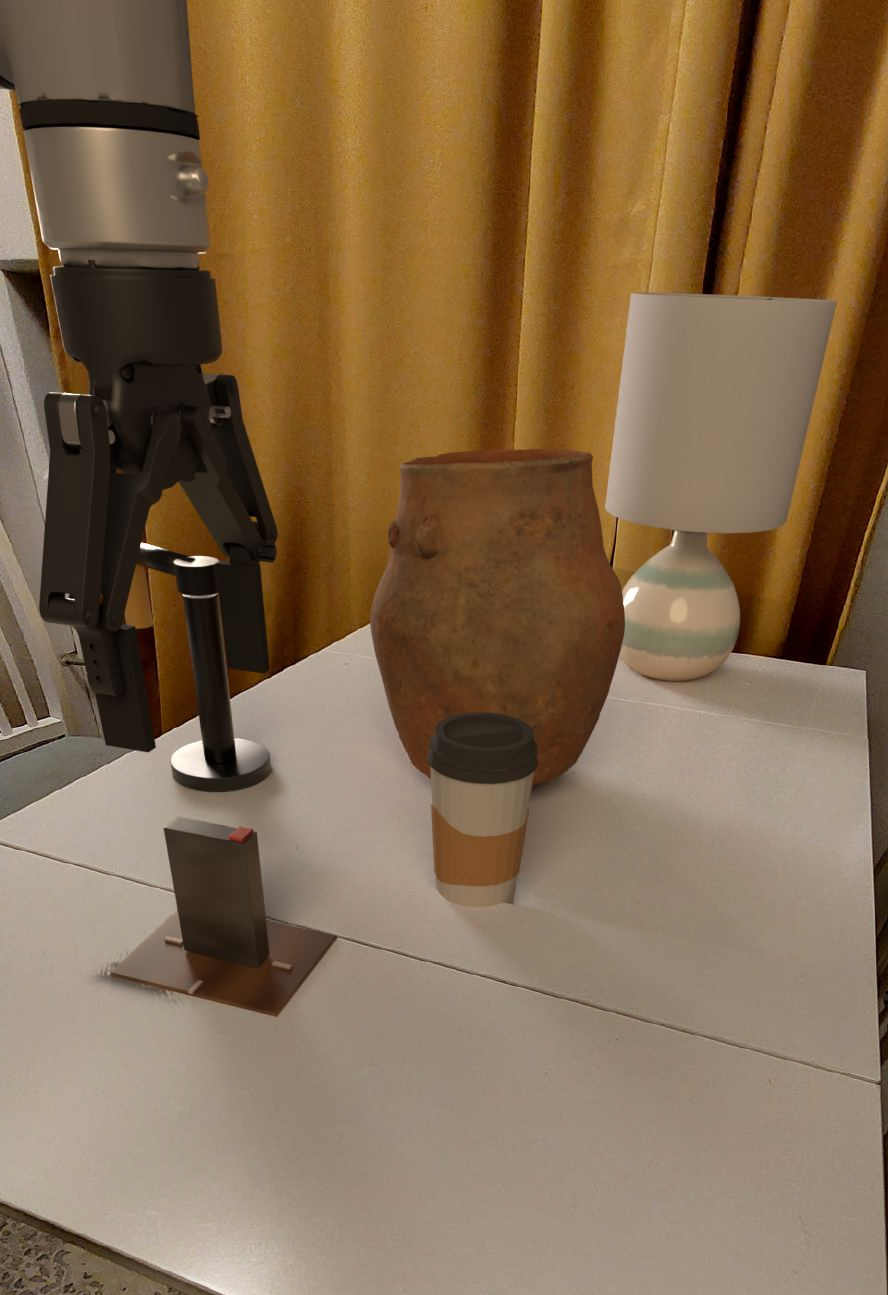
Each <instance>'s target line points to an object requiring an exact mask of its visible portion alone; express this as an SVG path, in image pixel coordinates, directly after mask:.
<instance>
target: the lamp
mask: <svg viewBox="0 0 888 1295" xmlns="http://www.w3.org/2000/svg"><path fill="white" fill-rule="evenodd" d="M837 304H838V301H837V300H831V299H816V298H815V299H814V298H800V297H799V298H797V297H776V296H755V295H731V294H709V293H708V294H705V293H680V292H679V293H678V292H631V293H630V299H629V306H628V307H629V309H628V317H627V323H626V324H627V325H626V330H625V331H626V332H625V342H624V348H623V356H622V357H623V358H622V365H621V372H620V373H621V374H620V382H619V390H618V397H617V398H618V399H617V406H616V414H615V415H616V416H615V422H614V431H613V440H612V446H611V454H610V455H611V456H610V463H609V471H608V480H607V489H606V498H605V504H604V509H605V511H606V512H607V513H608V514H610V515H611V516H612V517H613V516H614V517H615V518H618V519H619V520H623V521H627V522H629V523H634V524H636V525H637V524H638V525H642V526H648V527H651V528H659V529H664V530H672V531H673V535H672V537H671V541H670V543H669V545H667V546H665V547H664V548H662V549H661V550H659V551H657V552H656V553H655V554H654V555H652V556H651V557H650V558H649V559H647V560H646V561H645V562H644V563H643V564H642V565H641V566H640V567H638V569H637V570H636V571H635V572H634V573H632V575H631V576H630V578H629V579H628V581H627V582H626V583H625V585H624V587H623V588H622V595H623V603H624V611H625V632H624V638H623V643H622V647H621V651H620V655H619V659H620V660H621V661H622V662H623V663H624V664H625V665H626V666H627V667H628V668H630V669H631V670H632V671H634V672H636V673H638V674H640V675H642V676H645V677H647V678H650V679H655V680H659V681H666V682H682V681H683V682H684V681H685V682H686V681H689V680H695V679H699V678H703V677H704V676H706V675H708V674H710V673H713V672H714V671H716V670H717V669H718V668H720V667H721V666H722V665H723V664H724V663H725V662H726V660H727V659H729V656H730V655H731V653H732V652H733V650H734V649H735V646H736V644H737V642H738V641H737V640H738V637H739V633H740V628H741V608H740V602H739V598H738V594H737V590H736V587H735V585H734V582H733V580H732V579H731V577H730V575H729V573H728V571H727V570H726V569H725V567H724V566H723V564H722V563H721V562H720V560H719V559H718V557H717V556H716V555H714V553H713V552H712V551H711V550H710V549H709V548H708V546H707V544H708V534H747V533H748V534H749V533H759V532H766V531H772V530H775V529H779V528H781V527H783V526H784V525H785V524H786V523H787V521H788V516H789V513H790V512H789V511H790V508H791V503H792V498H793V495H794V490H795V486H796V481H797V477H798V473H799V468H800V464H801V460H802V455H803V451H804V446H805V444H806V438H807V434H808V429H809V425H810V421H811V417H812V413H813V412H812V411H813V407H814V404H815V399H816V394H817V390H818V386H819V382H820V377H821V373H822V368H823V364H824V360H825V356H826V351H827V347H828V343H829V338H830V334H831V329H832V326H833V321H834V317H835V312H836V308H837Z"/></svg>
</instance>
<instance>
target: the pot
mask: <svg viewBox="0 0 888 1295" xmlns="http://www.w3.org/2000/svg"><path fill="white" fill-rule="evenodd" d="M593 458H594V455H593V454H591V452H588V451H584V452H583V451H580V450H577V449H575V450H574V449H573V450H571V449H565V448H561V449H560V448H559V449H557V448H556V449H550V448H527V449H488V450H487V449H486V450H470V451H469V450H467V451H466V450H465V451H453V452H446V453H440V454H438V455H436V456H423V457H416V458H414V459H412V460H409V461H405V462H402V463H400V465H399V476H400V479H399V480H400V483H399V500H398V505H397V509H396V515H395V520H394V521H390V523H389V525H388V528H387V541H388V543H389V545H390V551H389V552H390V553H389V557H388V562H387V565H386V567H385V569H384V571H383V574H382V576H381V578H380V581H379V582H378V583H379V584H378V586H377V588H376V590H375V593H374V597H373V601H372V604H371V608H370V612H369V627H370V633H371V639H372V644H373V645H372V646H373V650H374V655H375V658H376V662H377V666H378V669H379V672H380V676H381V680H382V684H383V688H384V693H385V696H386V701H387V704H388V707H389V708H388V709H389V711H390V715H391V716H392V720H393V723H394V726H395V729H396V731H397V733H398V738H399V741H401V743H402V746H403V748H404V750H405V752H406V753H407V756H408V758H409V760H410V762H411V764H412V766H414V768H416V770H418V771H419V772H421V773H422V774H424V775H425V776H426V777H428V779H430V780H431V769H430V764H429V763H428V761H427V760H428V753H429V744H430V740H431V738H432V737H433V736H434V735H435V728H436V726H437V724H438V723H439V722H440V721H442V720H443V719H445V718H447V717H450V716H453V715H458V714H463V713H474V712H484V713H496V714H503V715H507V716H511V717H514V718H516V719H519V720H522V721H523V722H525V723H526V724H528V725H529V726H530V727H531V728H532V730H533V735H534V741H535V742H536V743H537V748H538V753H537V760H538V766H537V768H536V770H535V771H534V777H533V783H532V786H535V785H538V784H542V783H546V782H551V781H552V780H554V779H557V778H558V777H560V776H561V775H563V774H564V773H566V772H568V770H570V769H571V768H572V767H573V766H574V765H575V764H576V763H577V761H578V760H579V759H580V756H581V755H582V753H583V751H584V749H585V748H586V745H587V744H588V742H589V740H590V738H591V736H592V734H593V732H594V730H595V728H596V725H597V724H598V722H599V720H600V717H601V716H600V715H601V712H602V710H603V708H604V705H605V703H606V701H607V698H608V697H609V696H608V695H609V692H610V689H611V686H612V682H613V679H614V676H615V673H616V668H617V666H618V662H619V659H620V657H619V655H620V651H621V647H622V643H623V638H624V632H625V611H624V603H623V595H622V590H623V588H622V585H621V581H620V579H619V577H618V575H617V573H616V572H615V570H614V568H613V567H612V565H611V563H610V562H609V559H608V557H607V553H606V550H605V547H604V538H603V529H602V523H601V517H600V516H601V515H600V511H599V510H600V509H599V507H598V502H597V498H596V494H595V490H594V487H593V486H594V485H593Z"/></svg>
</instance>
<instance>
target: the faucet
mask: <svg viewBox="0 0 888 1295" xmlns="http://www.w3.org/2000/svg"><path fill="white" fill-rule="evenodd" d="M182 602H183V607H184V616H185V617H184V618H185V624H186V630H187V637H188V646H189V653H190V660H191V667H192V668H191V669H192V675H193V681H194V684H193V685H194V690H195V698H196V705H197V712H198V720H199V727H200V734H201V740H197V741H194V742H191V743H188V744H185V745H184V746H182V747H180V748H177V750H176V751H174V752H173V754H171V757H170V760H169V761H170V767H171V768H170V769H171V774H172V778H173V779H174V780H175V782H176V783H178V784H179V785H181V786H183V787H185V788H187V789H191V790H194V791H199V792H208V793H219V792H220V793H222V792H223V793H224V792H233V791H239V790H243V789H246V788H250V787H253V786H255V785H258V784H259V783H261V782H263V781H264V780H266V779H267V777H268V776H269V775H270V774H271V771H272V764H271V763H272V762H271V755H270V751H269V750H268V748H266V747H265V746H264V745H262V744H260V743H258V742H256V741H254V740H253V741H252V740H249V739H243V738H238V737H237V738H235V731H234V722H233V712H232V706H231V705H232V704H231V697H230V686H229V679H228V670H227V669H228V668H227V659H226V650H225V641H224V633H223V624H222V616H221V607H220V599H219V593H217V594H213V595H208V596H188V595H183V594H182Z"/></svg>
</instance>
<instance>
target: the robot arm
mask: <svg viewBox="0 0 888 1295" xmlns="http://www.w3.org/2000/svg"><path fill="white" fill-rule="evenodd" d="M187 2H188V0H0V92H9V91H13V92H15V94H16V99H17V104H18V105H17V107H19V109H18V110H19V116H20V121H21V126H22V129H23V140H24V144H25V150H26V155H27V161H28V167H29V173H30V179H31V185H32V190H33V195H34V201H35V208H36V213H37V214H36V215H37V218H38V224H39V229H40V236H41V241H42V243H44V245H46V246H47V247H48V249H50V250H57V251H58V256H59V260H60V261H59V262H60V265H61V266H53V268H52V269H53V274H50V275H49V277H50V282H51V288H52V293H53V298H54V303H55V309H56V315H57V320H58V325H59V331H60V336H61V342H62V347H63V350H64V352H65V354H66V355H67V356H68V357H69V358H70V359H71V360H73V361H75V362H78V363H82V365H83V366H84V368H85V369H86V371H87V377H88V394H79V393H67V392H51V391H50V392H47V394H46V395H45V397H44V400H43V408H44V416H45V423H46V432H47V437H48V438H47V439H48V444H49V462H48V473H47V474H48V475H47V488H46V502H45V503H46V504H45V505H46V506H45V516H44V517H45V518H44V531H43V532H44V533H43V545H42V546H43V547H42V561H41V562H42V563H41V576H40V587H39V590H40V591H39V602H38V608H39V609H38V610H39V615H40V617H41V619H42V620H43V621H44V622H46V623H47V624H48V623H49V624H56V625H62V626H69V627H72V628H73V629H74V630H75V631H76V633H77V636H78V639H79V640H78V641H79V644H80V649H81V654H82V658H83V663H84V668H85V672H86V678H87V683H88V685H89V687H90V689H91V691H92V693H94V696H95V701H96V705H97V710H98V716H99V720H100V725H101V730H102V733H103V739H104V743H105V746H108V747H113V748H119V749H126V750H132V751H136V752H143V753H150V752H152V751H153V750H154V749H156V748H157V745H156V739H155V734H154V728H153V721H152V715H151V710H150V705H149V699H148V698H149V697H148V693H147V688H146V681H145V676H144V671H143V670H144V669H143V664H142V659H141V652H140V647H139V646H140V645H139V640H138V635H137V630H136V629H135V626H132V625H126V623H125V624H123V620H124V617H125V614H124V613H125V609H126V605H127V600H128V596H129V592H130V588H131V584H132V580H133V576H134V571H135V567H136V563H137V559H138V555H139V551H140V546H141V543H143V539H144V538H143V537H144V534H145V529H146V526H147V521H148V517H149V512H150V509H151V507H152V506H153V505H155V504H157V503H158V502H160V501H161V498H162V495H163V491H164V490H168V489H170V488H173V487H174V486H175V485H176V484H179V485H180V486H181V489H182V490H183V492H184V493H185V495H186V497H187V498H188V500H189V501H190V503H191V504H192V507H193V509H194V510H195V511H196V513H197V514H198V516H199V518H200V519H201V521H202V523H203V524H204V526H205V528H206V529H207V531H208V533H209V534H210V536H211V537H212V539H213V541H214V542H215V544H216V546H217V547H218V549H219V550H220V552H221V554H222V555H223V557H224V558H225V559H226V558H227V559H229V560H218V561H219V562H217V563H215V565H216V574H217V582H218V590H219V593H218V598H219V607H220V616H221V624H222V633H223V642H224V650H225V659H226V667H227V669H229V670H236V671H241V672H242V671H243V672H250V673H257V674H263V675H264V674H266V673H268V672H269V671H270V670H271V669H270V657H269V656H270V655H269V648H268V646H269V644H268V634H267V624H266V623H267V622H266V612H265V602H264V601H265V600H264V592H263V580H262V569H261V568H262V567H261V563H262V562H263V563H270V564H271V563H272V564H273V563H275V561H276V559H277V545H276V542H277V540H278V536H279V532H278V527H277V524H276V520H275V517H274V515H273V511H272V508H271V505H270V502H269V501H270V500H269V499H268V495H267V492H266V489H265V486H264V482H263V479H262V476H261V473H260V469H259V466H258V464H257V461H256V457H255V454H254V452H253V448H252V445H251V442H250V438H249V434H248V432H247V429H246V426H245V423H244V419H243V412H242V404H241V397H240V391H239V384H238V380H237V377H235V375H233V374H221V373H205V372H204V373H203V370H202V365H208V364H213V363H215V362H217V361H218V360H219V359H220V358H221V356H222V353H223V341H222V332H221V323H220V312H219V301H218V292H217V283H216V278H212V275H211V271H210V270H208V269H207V270H204V269H203V270H202V269H201V263H200V262H201V261H200V254H207V252H208V251H210V249H211V247H212V245H211V243H212V242H211V236H210V234H211V233H210V226H209V225H210V224H209V216H208V208H207V198H206V193H207V191H208V189H209V187H210V186H209V175H208V174H207V171H206V170H205V169H204V168H203V160H202V152H201V144H200V143H201V142H200V140H201V135H200V134H201V133H200V126H199V119H197V118H199V115H197V114H196V106H195V104H196V103H195V95H194V94H195V92H194V81H193V68H192V54H191V40H190V28H189V27H190V26H189V15H188V14H189V12H188V3H187ZM117 471H119V472H120V473H118V472H117ZM252 518H255V520H252ZM66 594H67V595H68V597H67V598H66ZM101 597H102V601H101Z"/></svg>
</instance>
